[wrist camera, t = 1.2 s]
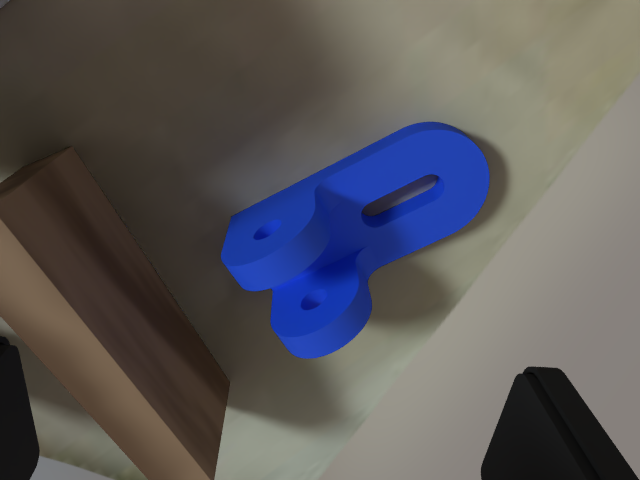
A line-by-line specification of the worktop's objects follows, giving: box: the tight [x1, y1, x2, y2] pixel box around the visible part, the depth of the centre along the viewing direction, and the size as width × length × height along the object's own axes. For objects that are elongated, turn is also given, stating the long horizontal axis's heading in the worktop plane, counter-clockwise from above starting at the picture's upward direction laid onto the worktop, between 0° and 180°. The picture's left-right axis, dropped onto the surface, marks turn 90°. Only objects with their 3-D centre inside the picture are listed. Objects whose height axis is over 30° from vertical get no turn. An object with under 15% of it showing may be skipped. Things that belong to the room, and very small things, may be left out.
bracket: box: [221, 122, 489, 359], centre depth 33 cm, size 18×8×9 cm, turn 118°
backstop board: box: [0, 146, 230, 480], centre depth 35 cm, size 4×24×10 cm, turn 21°
